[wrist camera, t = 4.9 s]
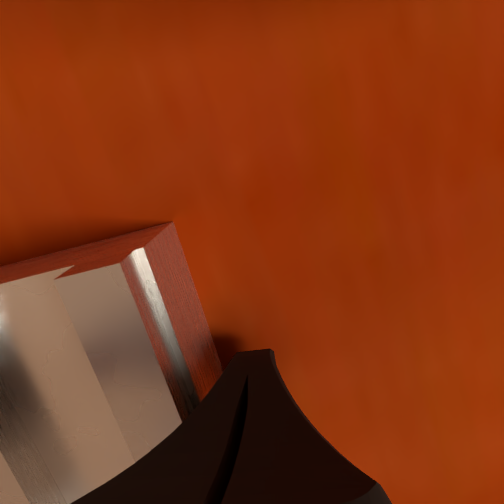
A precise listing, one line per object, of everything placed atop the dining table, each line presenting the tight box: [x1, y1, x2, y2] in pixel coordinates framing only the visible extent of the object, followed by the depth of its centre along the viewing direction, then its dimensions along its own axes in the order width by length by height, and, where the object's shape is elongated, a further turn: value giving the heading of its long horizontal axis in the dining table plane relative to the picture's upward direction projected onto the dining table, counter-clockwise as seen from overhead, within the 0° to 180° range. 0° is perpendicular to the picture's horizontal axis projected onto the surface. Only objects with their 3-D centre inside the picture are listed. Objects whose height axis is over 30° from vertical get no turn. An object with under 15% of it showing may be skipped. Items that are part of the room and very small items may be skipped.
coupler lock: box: [0, 222, 223, 504], centre depth 12 cm, size 10×7×4 cm
